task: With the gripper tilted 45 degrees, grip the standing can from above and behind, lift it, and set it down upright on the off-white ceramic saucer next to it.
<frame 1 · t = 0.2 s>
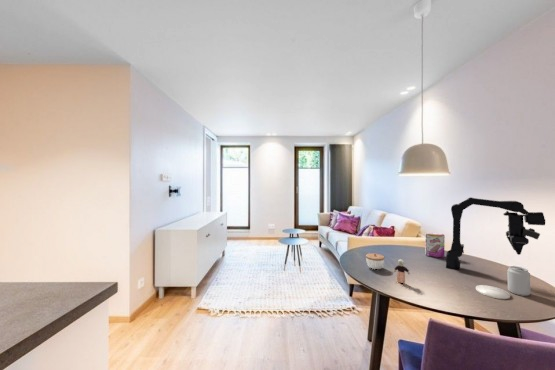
hand: (517, 252, 124), 14 cm above the table, tool pointing down, fingers open, 9 cm apart
lidded jar: (375, 268, 143), on the table
candy bar box: (434, 256, 164), on the table
can: (518, 293, 109), on the table
grandmother figurine: (401, 283, 122), on the table
saucer: (492, 292, 109), on the table
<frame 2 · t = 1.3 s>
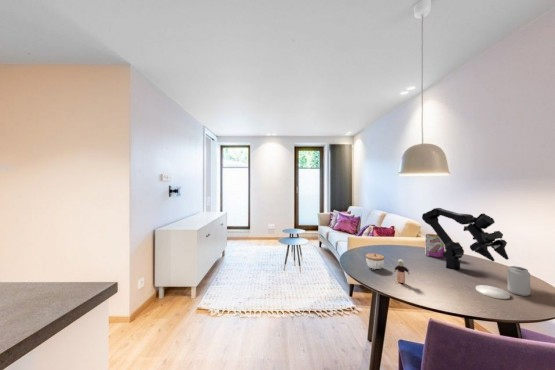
hand: (500, 260, 116), 13 cm above the table, tool tilted 45°, fingers open, 9 cm apart
nothing on the table moved.
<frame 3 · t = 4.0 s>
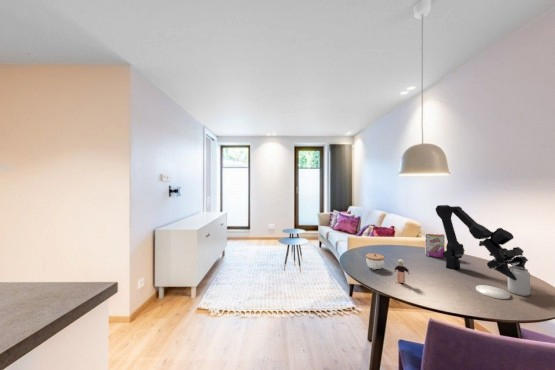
hand: (522, 279, 107), 7 cm above the table, tool tilted 45°, fingers closed on can, 7 cm apart
can: (518, 293, 109), on the table, touching gripper
everything else where it was.
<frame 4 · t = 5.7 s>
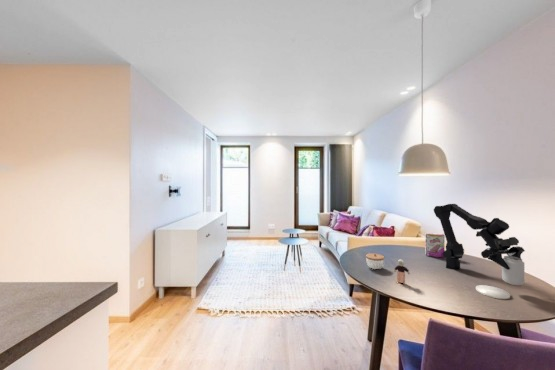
hand: (516, 268, 107), 12 cm above the table, tool tilted 45°, fingers closed on can, 7 cm apart
can: (512, 282, 109), point 5 cm above the table, touching gripper
everything else where it was.
when the fingers open (9 cm above the table, at t = 7.6 s): can drops 1 cm, resting on saucer.
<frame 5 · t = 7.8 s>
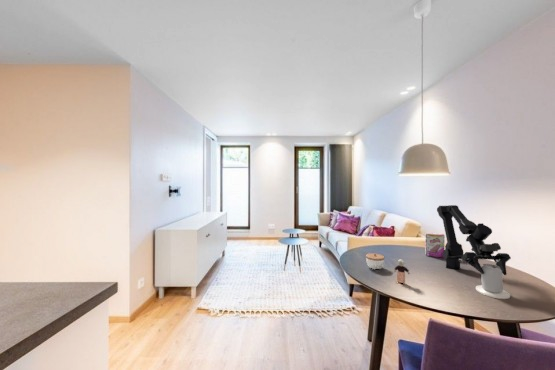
hand: (494, 274, 108), 10 cm above the table, tool tilted 45°, fingers open, 9 cm apart
can: (492, 290, 109), point 1 cm above the table, touching saucer
everything else where it was.
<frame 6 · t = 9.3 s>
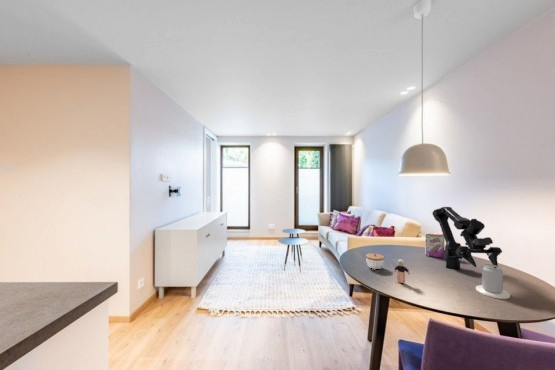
hand: (486, 267, 113), 11 cm above the table, tool tilted 45°, fingers open, 9 cm apart
nothing on the table moved.
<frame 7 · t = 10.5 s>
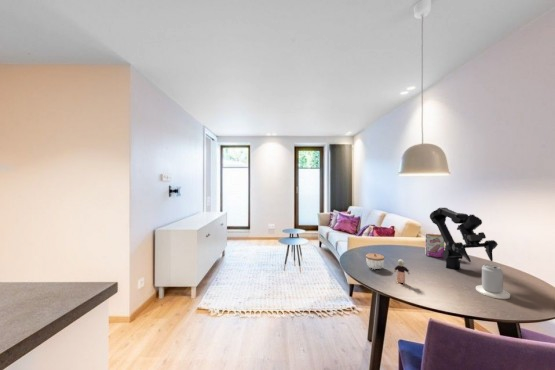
hand: (481, 261, 118), 12 cm above the table, tool tilted 40°, fingers open, 9 cm apart
nothing on the table moved.
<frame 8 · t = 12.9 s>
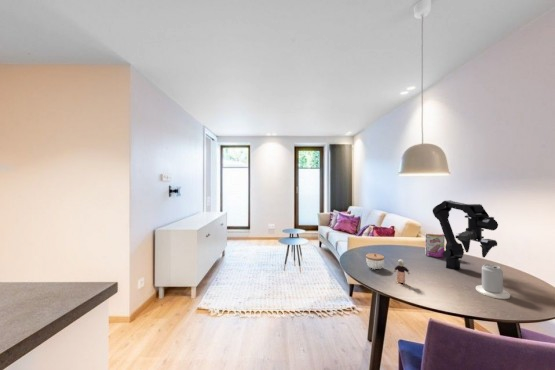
hand: (475, 254, 126), 13 cm above the table, tool pointing down, fingers open, 9 cm apart
nothing on the table moved.
at the end: can 0.2 cm off-centre on the saucer, point 0.8 cm above the saucer's base; can tilted 0°; the gripper is holding nothing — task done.
